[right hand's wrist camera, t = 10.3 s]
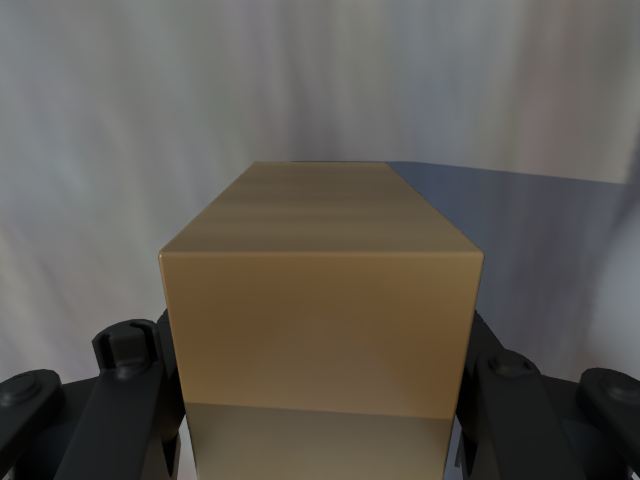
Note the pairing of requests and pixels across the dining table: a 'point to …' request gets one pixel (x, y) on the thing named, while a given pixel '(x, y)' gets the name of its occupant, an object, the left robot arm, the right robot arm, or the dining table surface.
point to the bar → (320, 325)
